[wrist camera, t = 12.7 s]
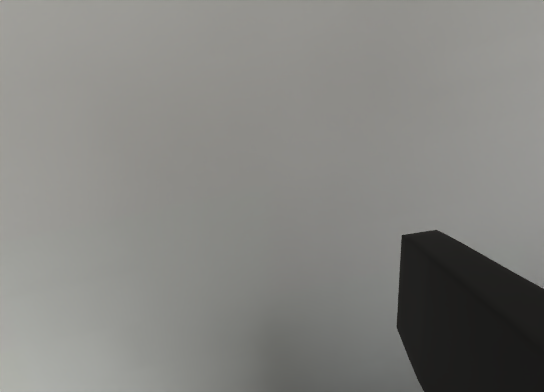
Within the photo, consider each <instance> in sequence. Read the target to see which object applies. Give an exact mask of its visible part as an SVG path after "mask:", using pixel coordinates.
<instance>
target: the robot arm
mask: <svg viewBox="0 0 544 392" xmlns="http://www.w3.org/2000/svg"><path fill="white" fill-rule="evenodd" d="M397 329H398V332H399V334H400V337H401V339H402V342H403V345H404V347H405V350H406V352H407V355H408V357H409V360H410V362H411V364H412V367H413V369H414V372H415V374H416V376H417V379H418V381H419V383H420V385H421V386H422V388H423V390H424V392H544V289H543V288H541V287H539V286H537V285H535V284H534V283H532V282H530V281H528V280H526V279H525V278H523V277H521V276H519V275H517V274H516V273H514V272H512V271H510V270H508V269H507V268H505V267H503V266H501V265H500V264H498V263H496V262H494V261H493V260H491V259H489V258H487V257H486V256H484V255H482V254H480V253H479V252H477V251H475V250H473V249H471V248H470V247H468V246H466V245H464V244H462V243H461V242H459V241H457V240H455V239H453V238H451V237H450V236H448V235H446V234H444V233H442V232H440V231H437V230H433V231H426V232H420V233H414V234H407V235H402V242H401V260H400V278H399V295H398V313H397Z"/></svg>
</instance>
